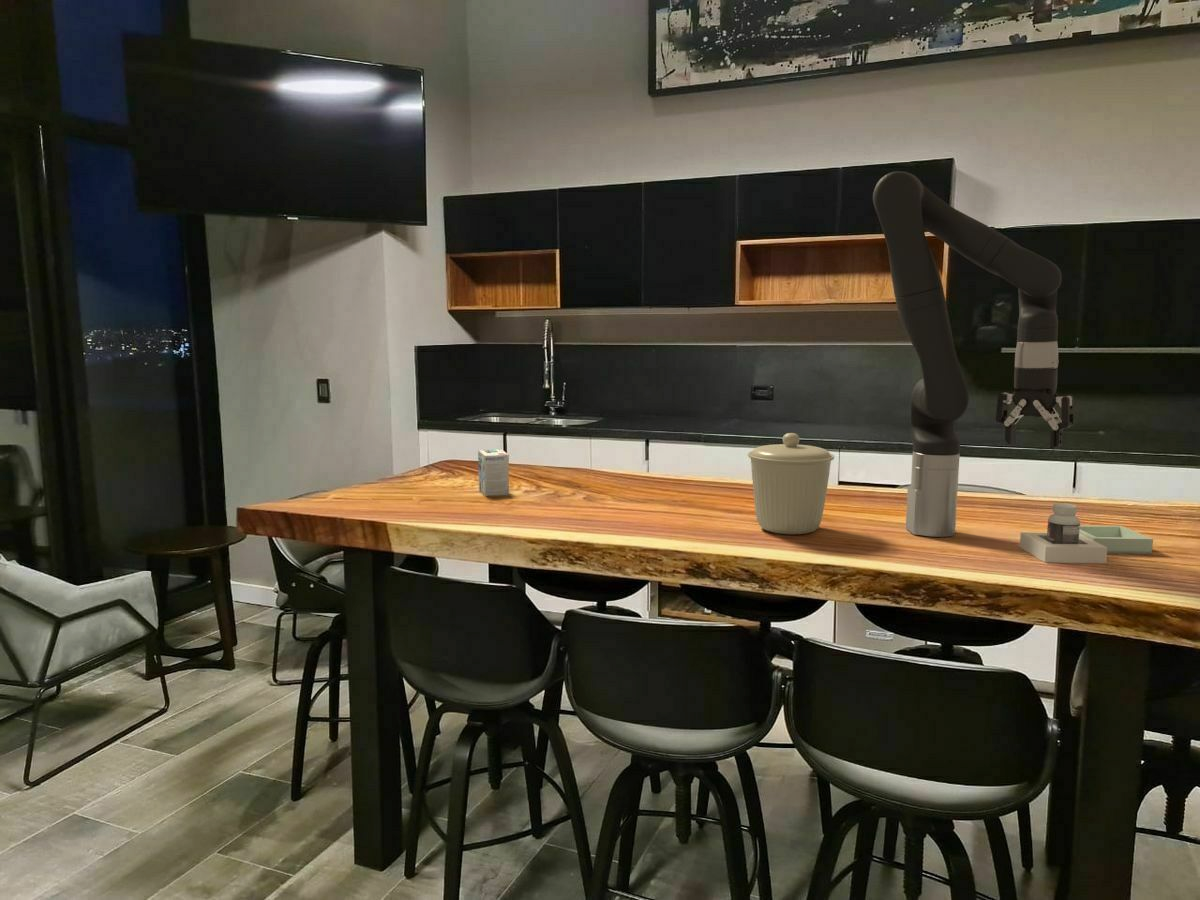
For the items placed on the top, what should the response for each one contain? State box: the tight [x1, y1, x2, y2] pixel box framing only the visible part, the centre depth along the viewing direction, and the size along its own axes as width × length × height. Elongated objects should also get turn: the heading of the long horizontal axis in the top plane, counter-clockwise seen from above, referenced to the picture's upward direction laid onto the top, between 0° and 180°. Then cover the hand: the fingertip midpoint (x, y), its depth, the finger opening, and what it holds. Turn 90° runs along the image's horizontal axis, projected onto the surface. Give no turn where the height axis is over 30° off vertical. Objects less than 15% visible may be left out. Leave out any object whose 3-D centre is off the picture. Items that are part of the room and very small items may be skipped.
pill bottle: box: [1046, 502, 1081, 544], centre depth 162 cm, size 5×5×10 cm
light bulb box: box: [477, 448, 510, 497], centre depth 226 cm, size 11×7×11 cm, turn 17°
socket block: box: [1019, 532, 1108, 564], centre depth 162 cm, size 11×11×3 cm
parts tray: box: [1079, 524, 1154, 555], centre depth 168 cm, size 11×11×3 cm
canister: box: [747, 432, 835, 535], centre depth 182 cm, size 18×18×21 cm
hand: (1032, 446), depth 168 cm, fingers open, 8 cm apart
